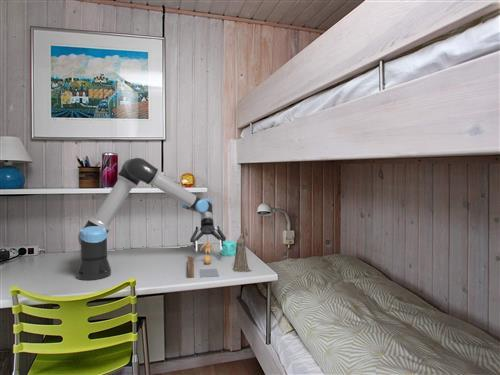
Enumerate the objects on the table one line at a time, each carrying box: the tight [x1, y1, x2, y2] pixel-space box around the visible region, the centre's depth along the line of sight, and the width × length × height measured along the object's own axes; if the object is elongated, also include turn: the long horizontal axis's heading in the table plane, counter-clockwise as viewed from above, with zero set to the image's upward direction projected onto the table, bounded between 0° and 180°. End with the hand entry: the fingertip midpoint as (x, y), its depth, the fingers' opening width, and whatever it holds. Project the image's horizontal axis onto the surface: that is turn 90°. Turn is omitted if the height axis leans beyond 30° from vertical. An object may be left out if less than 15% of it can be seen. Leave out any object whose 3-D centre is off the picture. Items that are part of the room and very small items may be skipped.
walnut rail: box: [187, 255, 195, 279], centre depth 172 cm, size 3×28×4 cm, turn 11°
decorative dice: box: [220, 240, 237, 257], centre depth 203 cm, size 8×8×8 cm
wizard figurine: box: [232, 222, 252, 273], centre depth 171 cm, size 10×8×25 cm
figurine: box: [200, 241, 216, 265], centre depth 183 cm, size 8×6×12 cm
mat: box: [199, 268, 220, 278], centre depth 166 cm, size 9×12×1 cm
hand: (208, 251), depth 184 cm, fingers open, 13 cm apart
